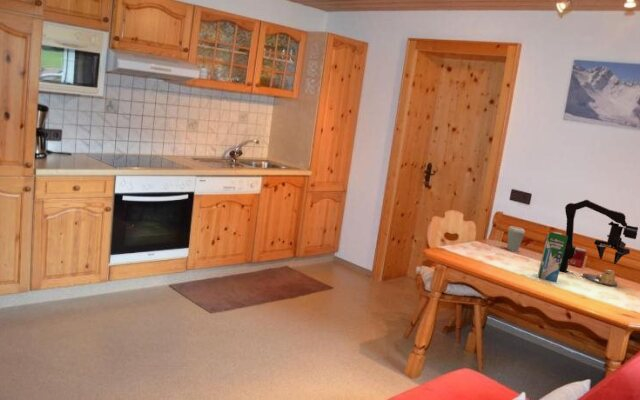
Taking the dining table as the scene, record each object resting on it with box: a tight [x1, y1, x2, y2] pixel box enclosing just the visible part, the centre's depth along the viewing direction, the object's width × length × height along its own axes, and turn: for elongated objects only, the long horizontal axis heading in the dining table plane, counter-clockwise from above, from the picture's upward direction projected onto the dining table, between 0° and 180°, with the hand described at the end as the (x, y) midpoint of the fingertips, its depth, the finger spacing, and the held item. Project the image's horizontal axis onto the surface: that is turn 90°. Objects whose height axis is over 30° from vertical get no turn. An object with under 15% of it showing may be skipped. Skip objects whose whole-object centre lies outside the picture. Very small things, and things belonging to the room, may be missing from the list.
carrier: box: [582, 269, 618, 287], centre depth 322 cm, size 20×18×6 cm
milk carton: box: [537, 231, 568, 283], centre depth 301 cm, size 9×9×25 cm
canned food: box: [568, 246, 587, 268], centre depth 354 cm, size 8×8×11 cm
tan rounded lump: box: [598, 271, 614, 285], centre depth 315 cm, size 7×7×5 cm
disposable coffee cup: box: [506, 225, 526, 252], centre depth 367 cm, size 11×11×15 cm
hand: (607, 261), depth 320 cm, fingers open, 9 cm apart
